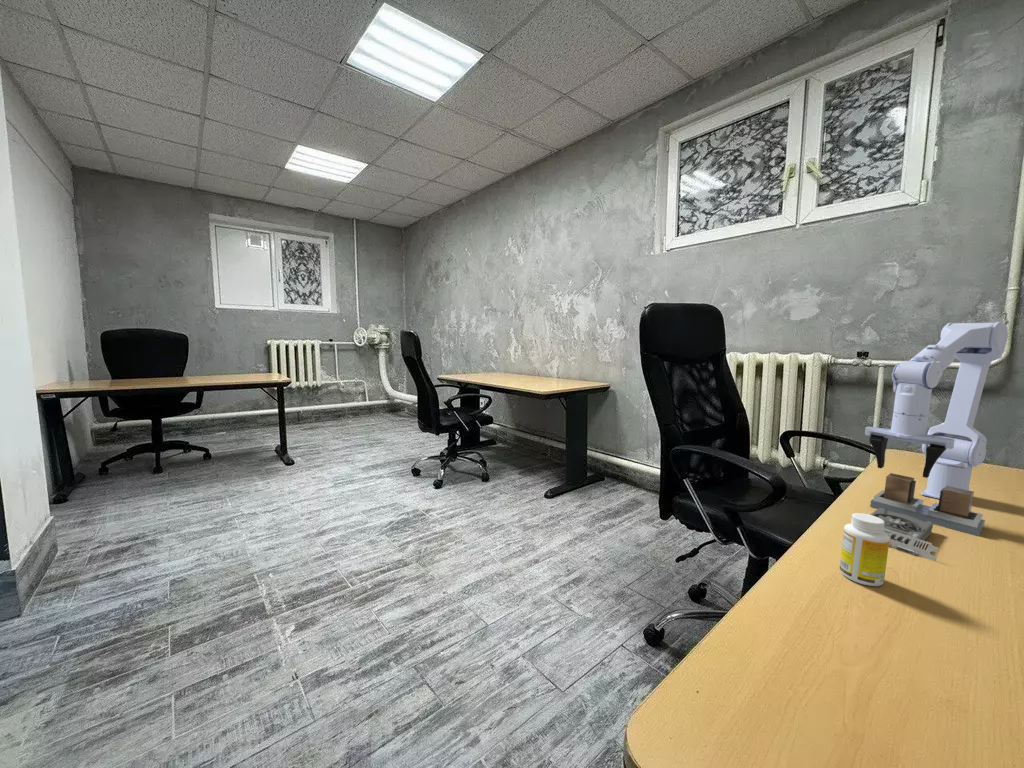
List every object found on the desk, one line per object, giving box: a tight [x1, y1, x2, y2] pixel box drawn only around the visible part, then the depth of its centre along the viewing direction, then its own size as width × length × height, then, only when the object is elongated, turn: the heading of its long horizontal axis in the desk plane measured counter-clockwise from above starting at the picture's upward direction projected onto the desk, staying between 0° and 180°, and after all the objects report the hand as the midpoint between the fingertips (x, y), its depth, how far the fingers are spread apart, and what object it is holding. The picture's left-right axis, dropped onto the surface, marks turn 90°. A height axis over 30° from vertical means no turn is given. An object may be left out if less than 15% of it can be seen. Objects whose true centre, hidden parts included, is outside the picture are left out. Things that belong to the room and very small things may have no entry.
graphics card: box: [869, 508, 939, 562], centre depth 81 cm, size 17×4×12 cm
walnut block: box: [884, 472, 917, 504], centre depth 94 cm, size 4×4×6 cm
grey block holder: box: [869, 486, 986, 537], centre depth 91 cm, size 8×17×8 cm, turn 36°
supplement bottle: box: [839, 512, 890, 587], centre depth 66 cm, size 6×6×10 cm
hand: (902, 471), depth 94 cm, fingers open, 7 cm apart
